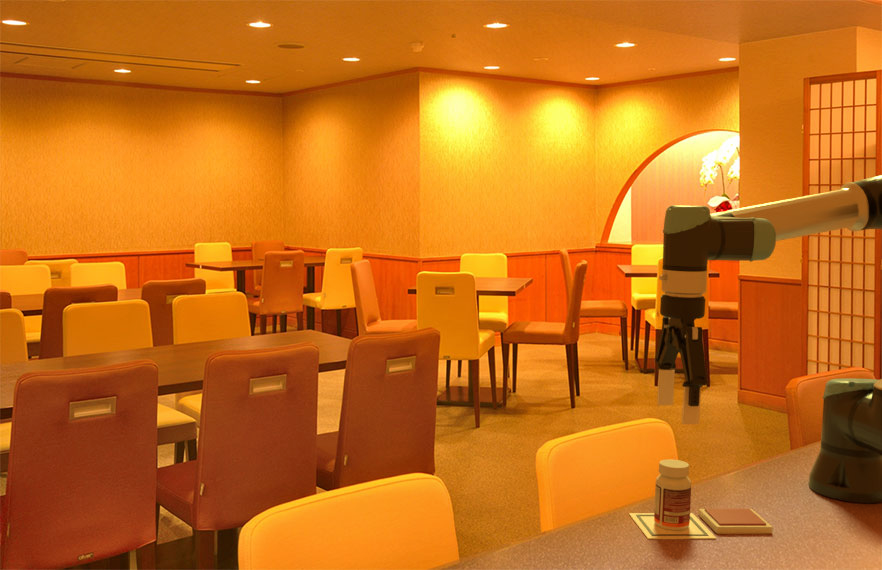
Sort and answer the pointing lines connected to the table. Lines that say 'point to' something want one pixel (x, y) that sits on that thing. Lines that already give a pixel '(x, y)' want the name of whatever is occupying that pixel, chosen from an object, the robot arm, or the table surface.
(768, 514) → the table surface
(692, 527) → the paper sheet
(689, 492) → the pill bottle
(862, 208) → the robot arm
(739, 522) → the pad
